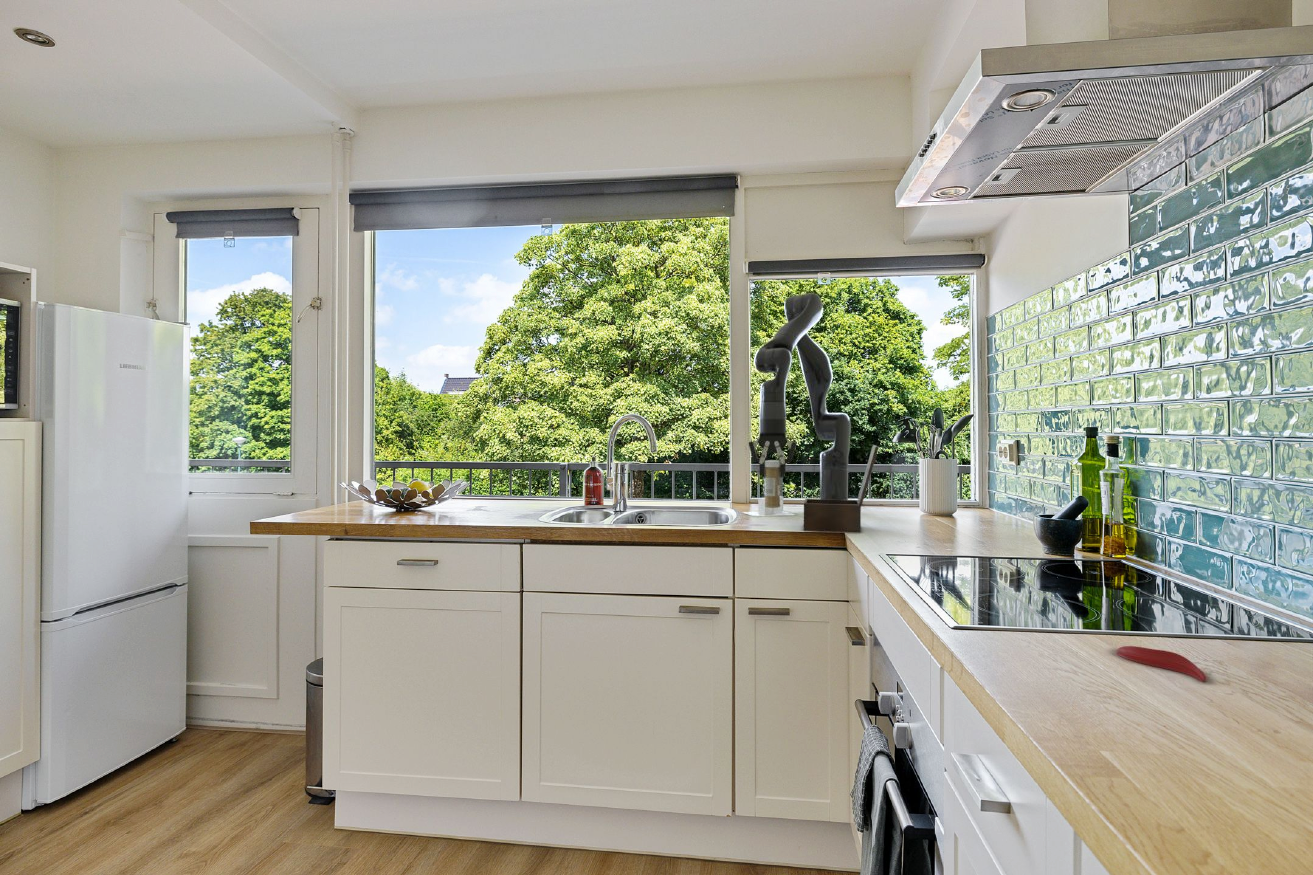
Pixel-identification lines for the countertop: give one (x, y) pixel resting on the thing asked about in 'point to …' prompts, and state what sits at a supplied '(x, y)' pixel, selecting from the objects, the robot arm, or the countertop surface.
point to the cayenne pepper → (1161, 660)
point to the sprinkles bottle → (772, 483)
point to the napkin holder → (768, 509)
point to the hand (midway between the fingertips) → (772, 476)
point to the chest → (832, 515)
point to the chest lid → (867, 473)
